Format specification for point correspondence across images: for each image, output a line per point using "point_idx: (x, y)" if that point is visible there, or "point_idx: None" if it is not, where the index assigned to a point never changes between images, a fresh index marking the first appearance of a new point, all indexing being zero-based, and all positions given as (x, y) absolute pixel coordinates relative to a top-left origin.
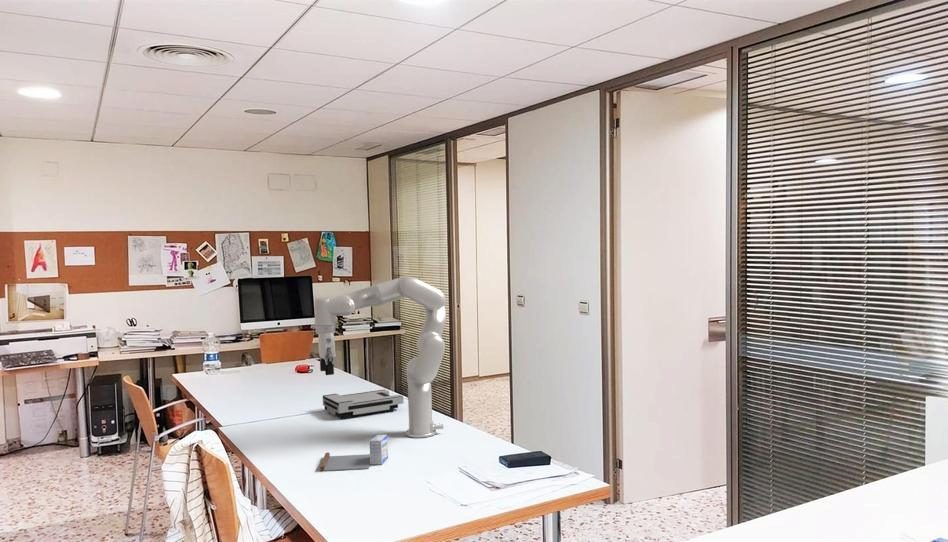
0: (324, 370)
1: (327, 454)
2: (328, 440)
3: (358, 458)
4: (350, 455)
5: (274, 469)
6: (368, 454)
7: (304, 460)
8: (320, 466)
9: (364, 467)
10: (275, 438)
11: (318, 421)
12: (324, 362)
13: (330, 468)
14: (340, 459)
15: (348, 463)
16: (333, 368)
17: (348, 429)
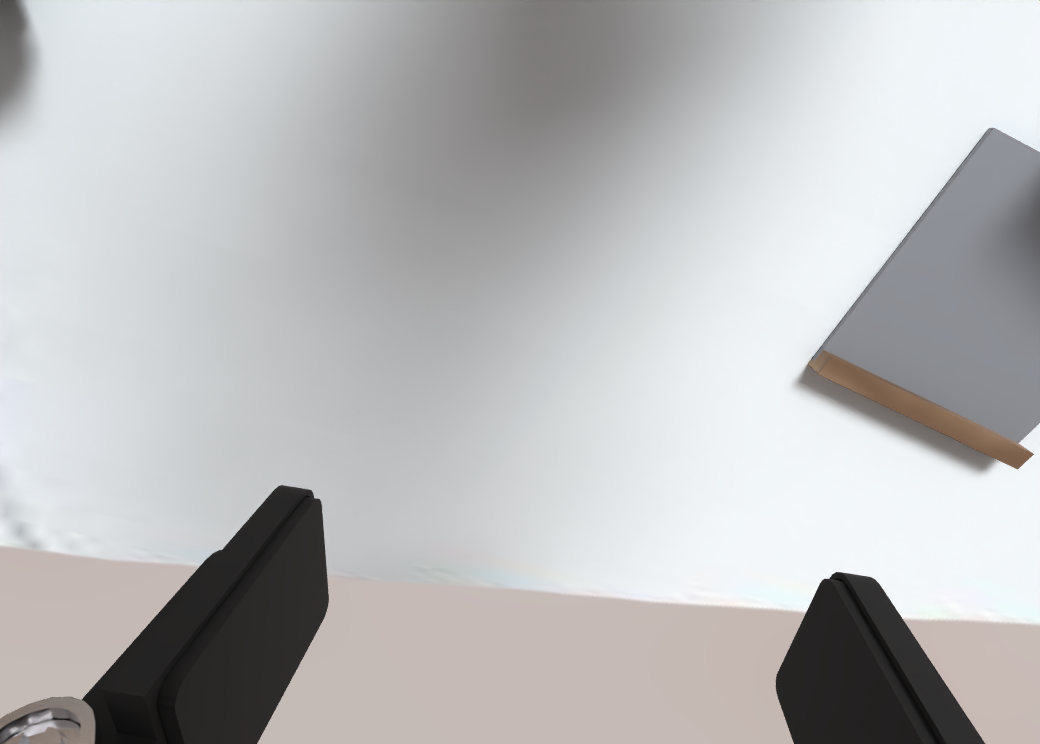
0: (322, 561)
1: (858, 377)
2: (499, 242)
3: (1003, 231)
4: (907, 250)
5: (796, 575)
6: (986, 145)
7: (770, 454)
8: (1017, 467)
9: None
10: (324, 446)
11: (35, 148)
12: (217, 733)
13: (1022, 414)
14: (926, 322)
15: (1034, 313)
16: (952, 706)
17: (306, 30)
